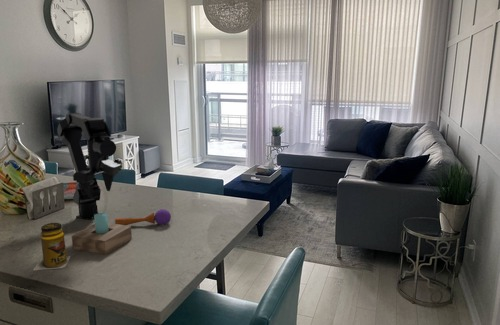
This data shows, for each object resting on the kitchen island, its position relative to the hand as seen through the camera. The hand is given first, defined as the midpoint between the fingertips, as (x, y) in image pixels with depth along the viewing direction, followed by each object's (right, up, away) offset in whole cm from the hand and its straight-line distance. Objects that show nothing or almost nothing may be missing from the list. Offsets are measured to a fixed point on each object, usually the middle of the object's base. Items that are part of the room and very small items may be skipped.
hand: (100, 194), depth 139 cm
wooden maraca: (+15, -12, +3) cm, 20 cm away
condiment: (-3, -18, -27) cm, 33 cm away
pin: (+6, -14, -14) cm, 21 cm away
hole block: (+6, -15, -14) cm, 21 cm away
